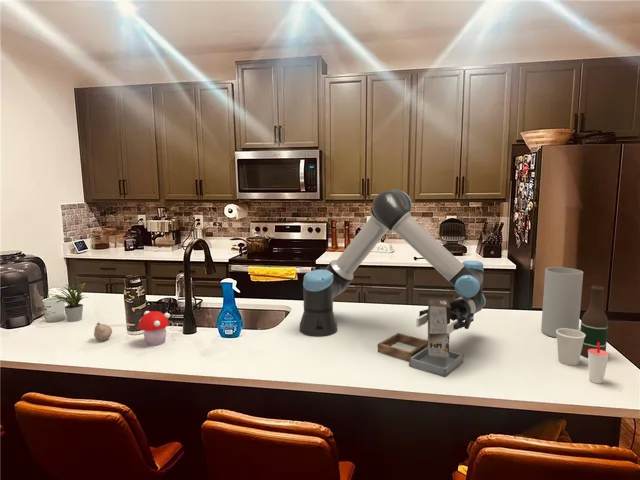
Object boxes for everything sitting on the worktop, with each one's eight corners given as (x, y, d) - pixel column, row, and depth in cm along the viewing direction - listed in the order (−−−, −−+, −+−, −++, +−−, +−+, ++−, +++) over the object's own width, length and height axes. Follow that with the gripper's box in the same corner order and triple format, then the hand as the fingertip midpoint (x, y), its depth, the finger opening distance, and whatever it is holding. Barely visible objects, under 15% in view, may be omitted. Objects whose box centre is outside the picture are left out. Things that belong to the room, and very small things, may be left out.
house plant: (72, 313, 194) (69, 278, 192) (100, 314, 192) (98, 279, 190) (49, 323, 180) (45, 286, 178) (78, 325, 178) (75, 287, 176)
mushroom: (176, 342, 158) (174, 311, 157) (147, 350, 151) (145, 318, 149) (162, 335, 166) (160, 305, 164) (134, 343, 158) (132, 311, 156)
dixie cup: (548, 356, 144) (550, 328, 142) (574, 356, 143) (576, 328, 142) (562, 367, 135) (564, 337, 134) (588, 367, 135) (591, 337, 134)
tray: (409, 366, 137) (409, 358, 137) (428, 352, 148) (429, 345, 147) (445, 377, 129) (445, 369, 129) (463, 361, 140) (463, 354, 140)
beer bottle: (580, 357, 142) (586, 288, 139) (576, 349, 150) (581, 282, 146) (608, 361, 140) (614, 290, 136) (602, 352, 147) (608, 284, 143)
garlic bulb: (90, 341, 160) (88, 320, 159) (105, 335, 166) (104, 315, 165) (101, 344, 157) (99, 323, 156) (116, 338, 163) (115, 318, 162)
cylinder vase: (581, 341, 157) (587, 275, 154) (544, 337, 161) (548, 272, 158) (573, 330, 169) (578, 268, 165) (538, 326, 173) (542, 266, 169)
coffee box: (449, 357, 133) (451, 307, 130) (428, 355, 134) (429, 306, 132) (446, 346, 141) (448, 298, 139) (427, 344, 143) (428, 298, 140)
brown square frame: (377, 352, 148) (377, 343, 148) (398, 340, 159) (398, 332, 158) (411, 362, 140) (411, 353, 139) (430, 349, 150) (430, 341, 150)
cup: (587, 383, 125) (590, 344, 123) (583, 375, 130) (586, 337, 128) (608, 386, 123) (612, 346, 121) (604, 378, 128) (607, 340, 126)
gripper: (492, 326, 143) (466, 345, 126) (431, 313, 158) (400, 329, 141) (493, 304, 142) (467, 321, 125) (431, 293, 157) (401, 308, 140)
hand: (432, 326), depth 133 cm, fingers closed on coffee box, 9 cm apart
